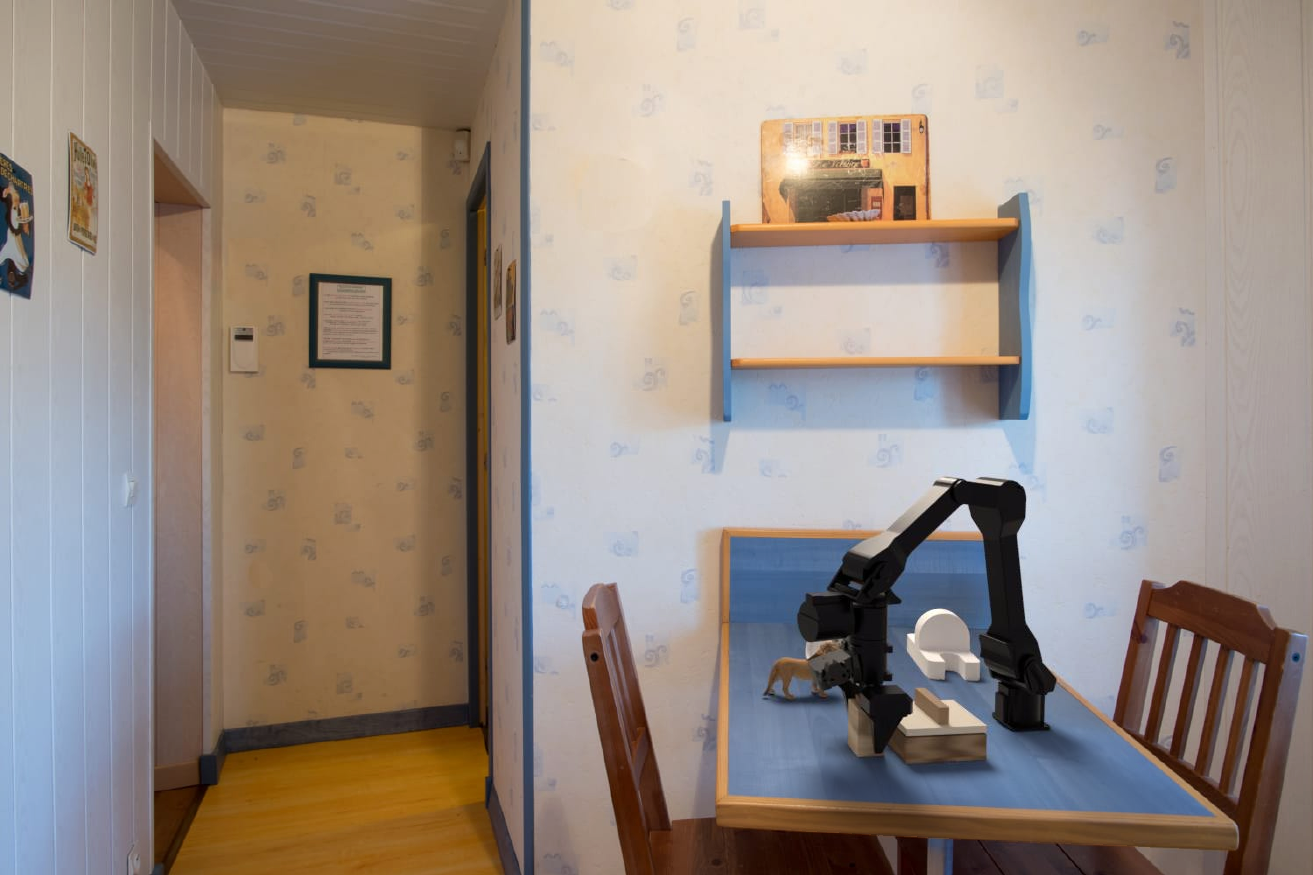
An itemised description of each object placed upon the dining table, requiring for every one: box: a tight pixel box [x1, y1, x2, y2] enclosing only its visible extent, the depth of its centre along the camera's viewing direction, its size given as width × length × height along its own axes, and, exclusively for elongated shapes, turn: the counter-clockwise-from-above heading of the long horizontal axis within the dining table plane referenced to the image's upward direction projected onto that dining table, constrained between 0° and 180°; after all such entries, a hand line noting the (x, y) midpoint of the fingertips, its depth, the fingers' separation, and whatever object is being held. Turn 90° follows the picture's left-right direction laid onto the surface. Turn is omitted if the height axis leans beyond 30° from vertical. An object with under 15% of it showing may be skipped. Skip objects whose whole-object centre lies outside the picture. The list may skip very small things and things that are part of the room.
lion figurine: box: [762, 642, 840, 701], centre depth 139 cm, size 15×5×9 cm, turn 106°
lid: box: [898, 687, 988, 736], centre depth 118 cm, size 12×10×4 cm
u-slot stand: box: [906, 608, 981, 682], centre depth 156 cm, size 10×18×11 cm, turn 175°
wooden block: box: [847, 694, 885, 758], centre depth 117 cm, size 4×4×8 cm
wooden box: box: [887, 727, 988, 765], centre depth 118 cm, size 12×10×4 cm
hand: (865, 739), depth 117 cm, fingers open, 9 cm apart
